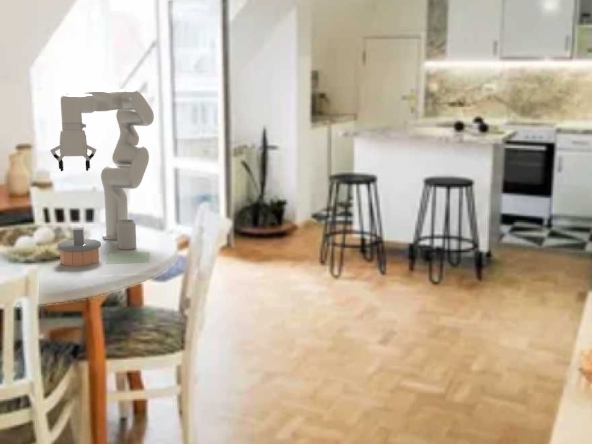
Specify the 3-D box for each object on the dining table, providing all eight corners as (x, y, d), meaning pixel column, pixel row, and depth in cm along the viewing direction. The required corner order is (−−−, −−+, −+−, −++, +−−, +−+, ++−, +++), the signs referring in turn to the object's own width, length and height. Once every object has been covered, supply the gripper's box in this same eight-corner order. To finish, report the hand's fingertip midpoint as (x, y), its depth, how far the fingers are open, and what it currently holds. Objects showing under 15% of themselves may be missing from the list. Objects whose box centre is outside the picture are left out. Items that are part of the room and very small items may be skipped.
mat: (108, 254, 292) (108, 253, 292) (149, 252, 295) (149, 251, 295) (105, 264, 277) (105, 263, 277) (148, 263, 280) (148, 262, 280)
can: (131, 251, 297) (130, 222, 294) (114, 250, 298) (113, 221, 296) (139, 247, 304) (138, 219, 302) (122, 246, 306) (121, 218, 303)
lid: (60, 242, 286) (59, 224, 284) (102, 241, 289) (101, 223, 287) (54, 252, 270) (53, 234, 269) (99, 250, 273) (98, 232, 272)
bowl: (63, 257, 286) (62, 242, 285) (100, 256, 289) (99, 241, 288) (58, 267, 273) (57, 251, 272) (97, 265, 275) (96, 250, 274)
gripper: (95, 126, 290) (98, 168, 294) (50, 126, 287) (53, 169, 291) (94, 127, 283) (96, 171, 287) (47, 128, 280) (50, 172, 284)
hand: (74, 170), depth 289 cm, fingers open, 9 cm apart
